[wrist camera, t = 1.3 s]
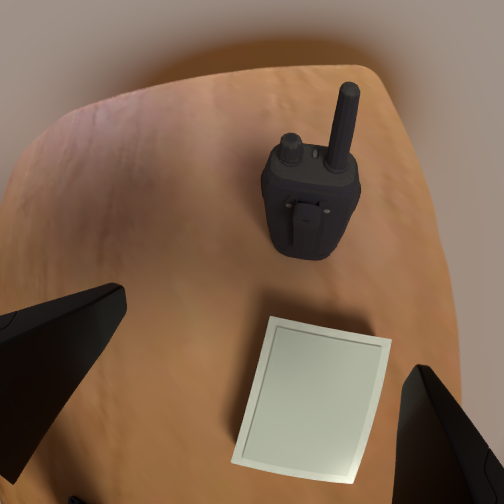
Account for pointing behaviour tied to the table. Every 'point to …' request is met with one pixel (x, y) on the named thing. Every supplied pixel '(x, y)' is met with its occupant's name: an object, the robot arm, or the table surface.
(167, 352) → the table surface
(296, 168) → the two-way radio
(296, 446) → the sage tile
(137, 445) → the table surface
